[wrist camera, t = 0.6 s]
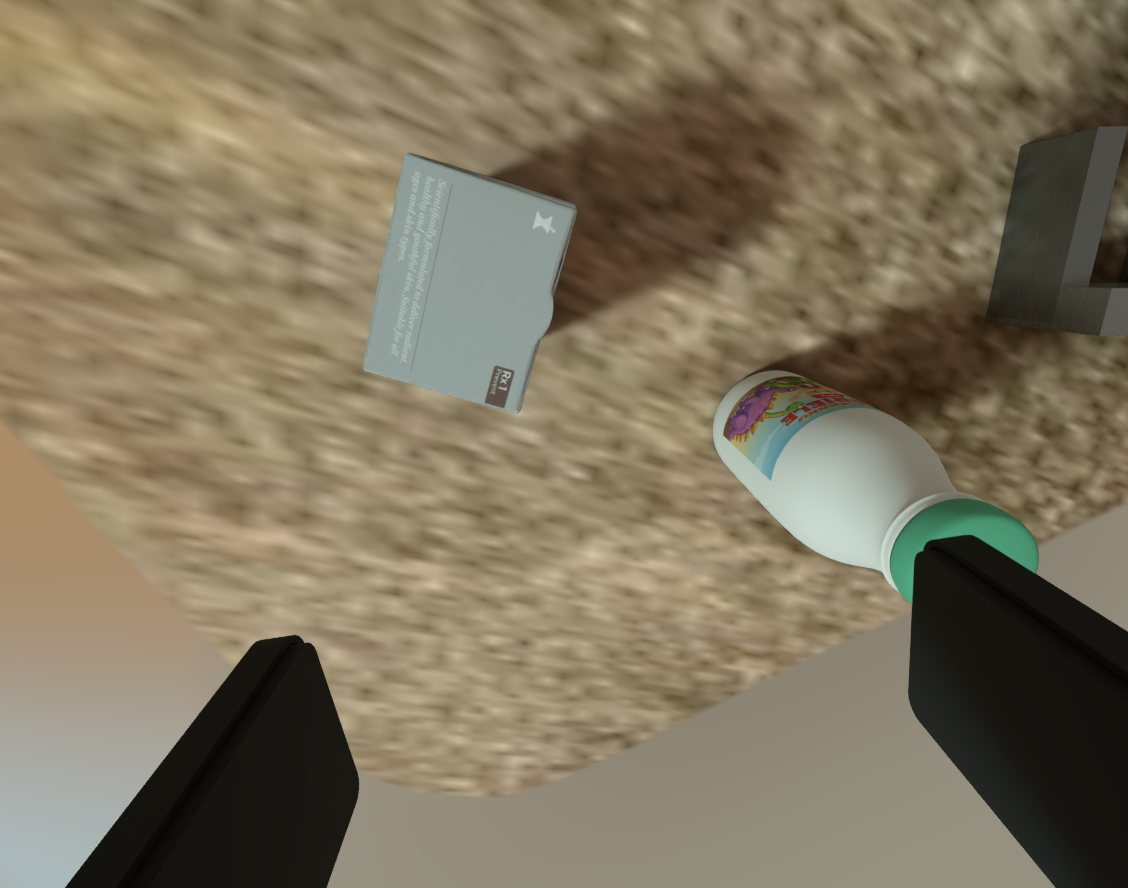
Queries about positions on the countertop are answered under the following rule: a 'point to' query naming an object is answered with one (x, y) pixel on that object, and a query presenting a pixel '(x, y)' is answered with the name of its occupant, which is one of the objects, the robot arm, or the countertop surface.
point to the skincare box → (466, 283)
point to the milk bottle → (851, 477)
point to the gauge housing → (1060, 238)
